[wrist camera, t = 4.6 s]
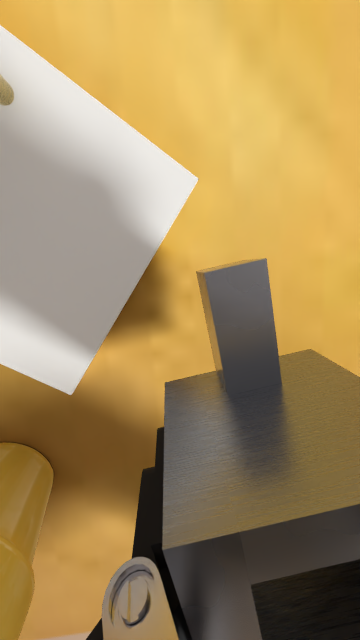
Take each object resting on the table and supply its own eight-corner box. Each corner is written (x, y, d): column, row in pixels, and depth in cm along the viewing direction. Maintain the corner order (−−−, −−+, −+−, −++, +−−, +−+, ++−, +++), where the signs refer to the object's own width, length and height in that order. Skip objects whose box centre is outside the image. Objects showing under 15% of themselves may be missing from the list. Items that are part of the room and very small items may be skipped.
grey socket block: (320, 467, 11) (479, 674, 5) (195, 496, 10) (224, 735, 5) (301, 247, 8) (559, 210, 3) (139, 284, 8) (86, 320, 3)
